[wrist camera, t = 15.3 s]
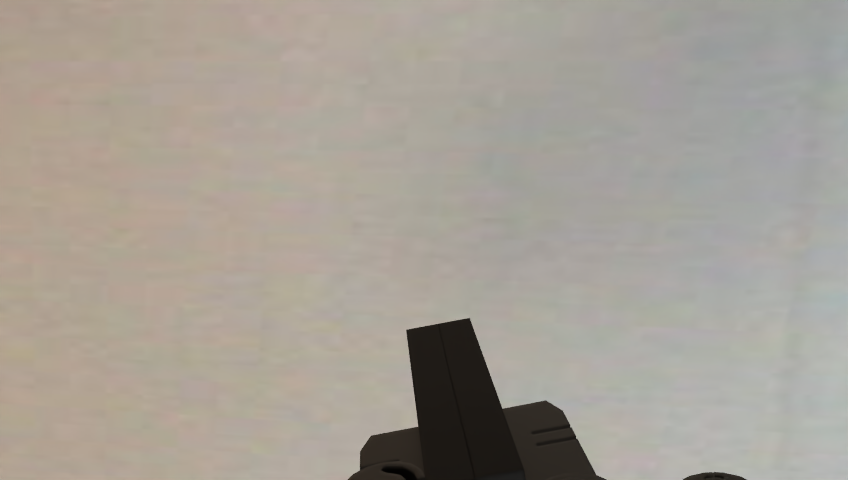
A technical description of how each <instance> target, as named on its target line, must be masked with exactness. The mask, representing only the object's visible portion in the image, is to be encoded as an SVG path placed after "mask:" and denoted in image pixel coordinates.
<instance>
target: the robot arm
mask: <svg viewBox="0 0 848 480" xmlns="http://www.w3.org/2000/svg"><path fill="white" fill-rule="evenodd" d="M406 331H407V339H408V347H409V355H410V363H411V371H412V379H413V387H414V395H415V403H416V410H417V418H418V426H419V427H415V428H410V429H404V430H399V431H394V432H389V433H383V434H378V435H373V436H371V437H370V438H369V440H368V441H367V442H366V444H365V445H364V447H363V448H362V450H361V451H360V471H358V472H357V473H355V474H353V475H352V476H351V477H350V478H349V479H348V480H606V479H604V478H601V477H599V476H597V475H596V474H595V472H594V470H593V468H592V466H591V464H590V462H589V460H588V458H587V456H586V455H585V453H584V451H583V449H582V447H581V445H580V443H579V441H578V439H576V435H575V434H574V432H573V430H572V428H570V424H569V422H568V420H567V418H566V416H565V414H564V413H563V411H562V410H560V409H559V408H557V407H556V406H554V405H552V404H551V403H549V402H547V401H541V402H536V403H531V404H526V405H520V406H515V407H510V408H505V409H502V407H501V404H500V401H499V398H498V396H497V393H496V390H495V387H494V385H493V382H492V379H491V376H490V373H489V371H488V368H487V365H486V362H485V360H484V357H483V354H482V351H481V349H480V346H479V343H478V340H477V338H476V335H475V332H474V329H473V326H472V324H471V321H470V318H467V319H462V320H457V321H451V322H446V323H441V324H435V325H430V326H425V327H419V328H414V329H409V330H406ZM683 480H746V479H744V478H742V477H740V476H736V475H731V474H727V473H718V472H714V473H712V472H709V473H701V474H696V475H692V476H689V477H687V478H685V479H683Z"/></svg>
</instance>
